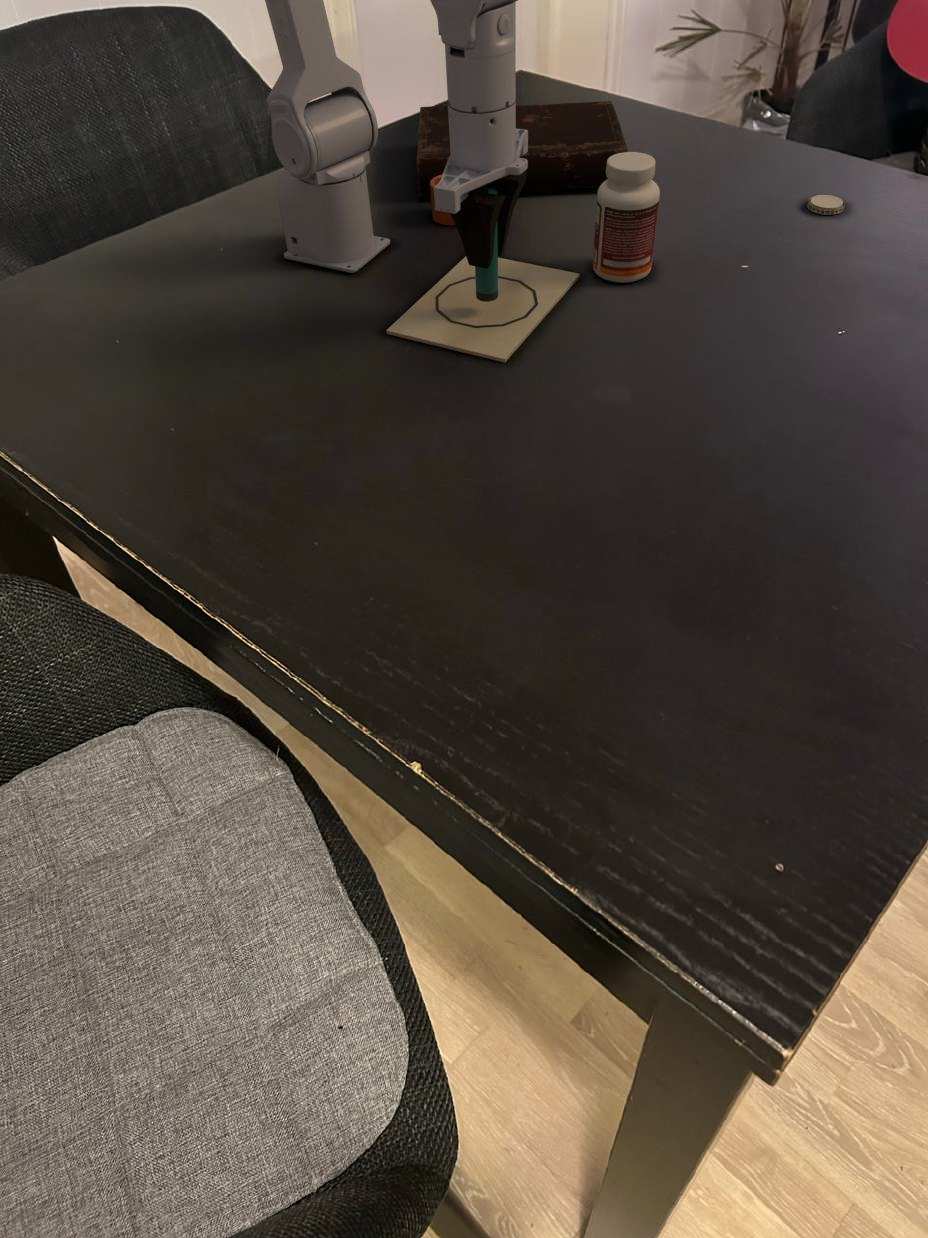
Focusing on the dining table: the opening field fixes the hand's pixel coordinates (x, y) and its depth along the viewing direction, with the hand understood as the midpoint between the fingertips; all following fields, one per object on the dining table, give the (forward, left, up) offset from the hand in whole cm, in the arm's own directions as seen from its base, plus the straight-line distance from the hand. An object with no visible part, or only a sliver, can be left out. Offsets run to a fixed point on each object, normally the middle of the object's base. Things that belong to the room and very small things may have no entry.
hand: (485, 259), depth 84 cm
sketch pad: (-1, +2, -6) cm, 6 cm away
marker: (0, 0, -4) cm, 4 cm away
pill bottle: (+9, +14, -6) cm, 18 cm away
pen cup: (-14, +19, -6) cm, 24 cm away
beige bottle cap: (+25, +37, -6) cm, 45 cm away
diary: (-13, +35, -6) cm, 38 cm away
